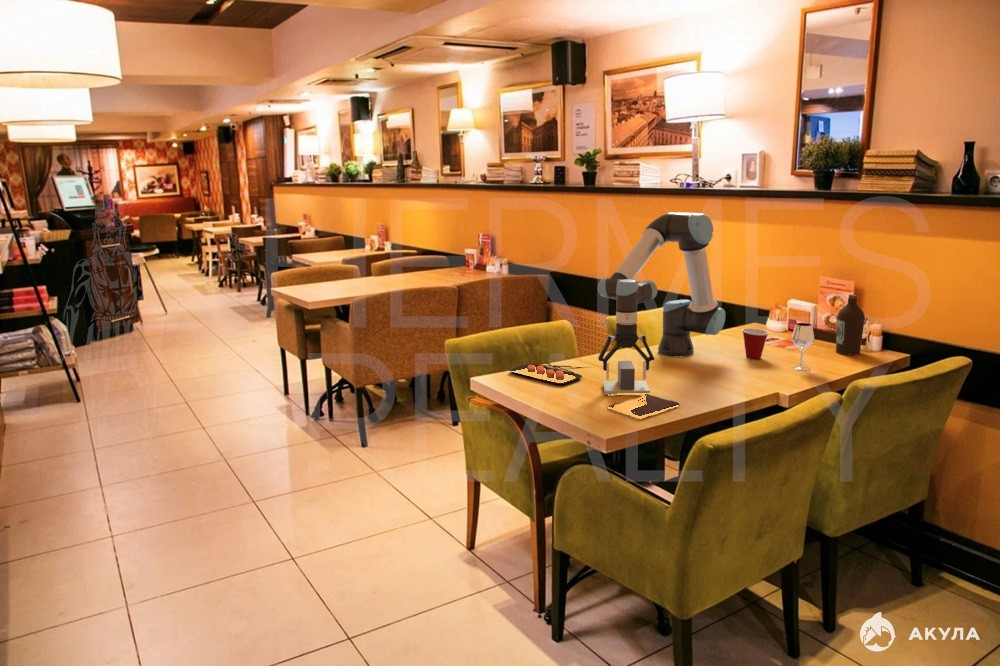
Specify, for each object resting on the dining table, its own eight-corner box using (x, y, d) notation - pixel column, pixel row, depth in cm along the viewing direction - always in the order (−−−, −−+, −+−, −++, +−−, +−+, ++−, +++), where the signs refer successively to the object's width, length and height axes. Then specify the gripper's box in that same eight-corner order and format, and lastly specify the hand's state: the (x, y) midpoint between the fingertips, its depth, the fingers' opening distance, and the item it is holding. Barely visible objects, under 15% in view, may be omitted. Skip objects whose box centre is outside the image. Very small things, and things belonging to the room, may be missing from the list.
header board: (602, 386, 271) (603, 372, 270) (645, 385, 270) (645, 371, 269) (605, 396, 260) (605, 381, 258) (649, 395, 258) (650, 381, 257)
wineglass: (805, 372, 280) (808, 327, 276) (785, 368, 286) (788, 324, 282) (815, 368, 285) (819, 324, 281) (796, 364, 291) (799, 321, 287)
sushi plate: (506, 374, 291) (506, 365, 290) (554, 359, 312) (554, 350, 311) (561, 389, 271) (561, 379, 270) (609, 371, 292) (609, 362, 291)
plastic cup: (771, 361, 297) (773, 333, 294) (745, 361, 297) (746, 333, 294) (762, 354, 307) (764, 327, 305) (737, 354, 308) (738, 327, 305)
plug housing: (617, 381, 270) (618, 360, 268) (631, 381, 270) (631, 360, 268) (620, 390, 260) (620, 369, 258) (634, 390, 259) (634, 368, 257)
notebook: (607, 410, 247) (607, 404, 246) (646, 397, 258) (646, 392, 258) (640, 421, 235) (640, 416, 235) (679, 408, 246) (679, 402, 246)
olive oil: (855, 349, 311) (860, 292, 305) (866, 355, 300) (871, 297, 295) (830, 349, 311) (834, 293, 305) (840, 356, 301) (845, 297, 295)
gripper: (592, 325, 256) (592, 382, 261) (662, 324, 254) (661, 381, 259) (591, 320, 263) (591, 375, 268) (659, 319, 262) (658, 375, 267)
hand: (625, 378), depth 264 cm, fingers open, 13 cm apart
